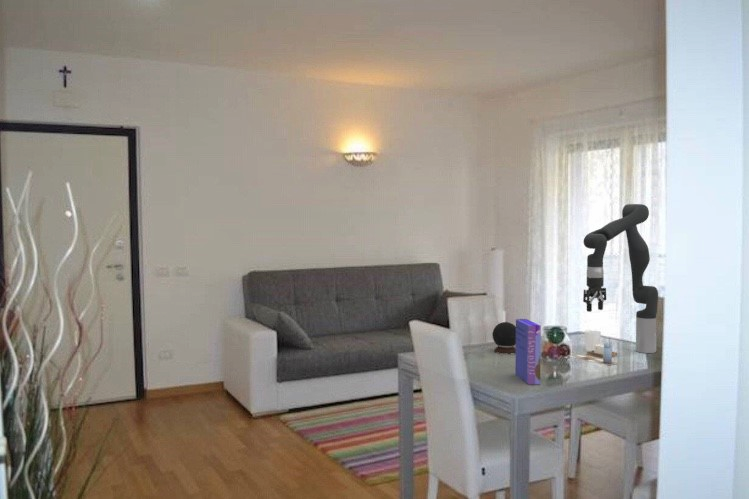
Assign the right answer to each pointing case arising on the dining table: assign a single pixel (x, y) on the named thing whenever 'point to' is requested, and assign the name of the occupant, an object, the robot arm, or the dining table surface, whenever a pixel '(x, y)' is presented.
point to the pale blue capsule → (607, 353)
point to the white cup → (591, 339)
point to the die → (598, 348)
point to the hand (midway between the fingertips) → (594, 310)
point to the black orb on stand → (505, 337)
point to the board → (591, 359)
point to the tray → (591, 353)
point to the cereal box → (528, 351)
